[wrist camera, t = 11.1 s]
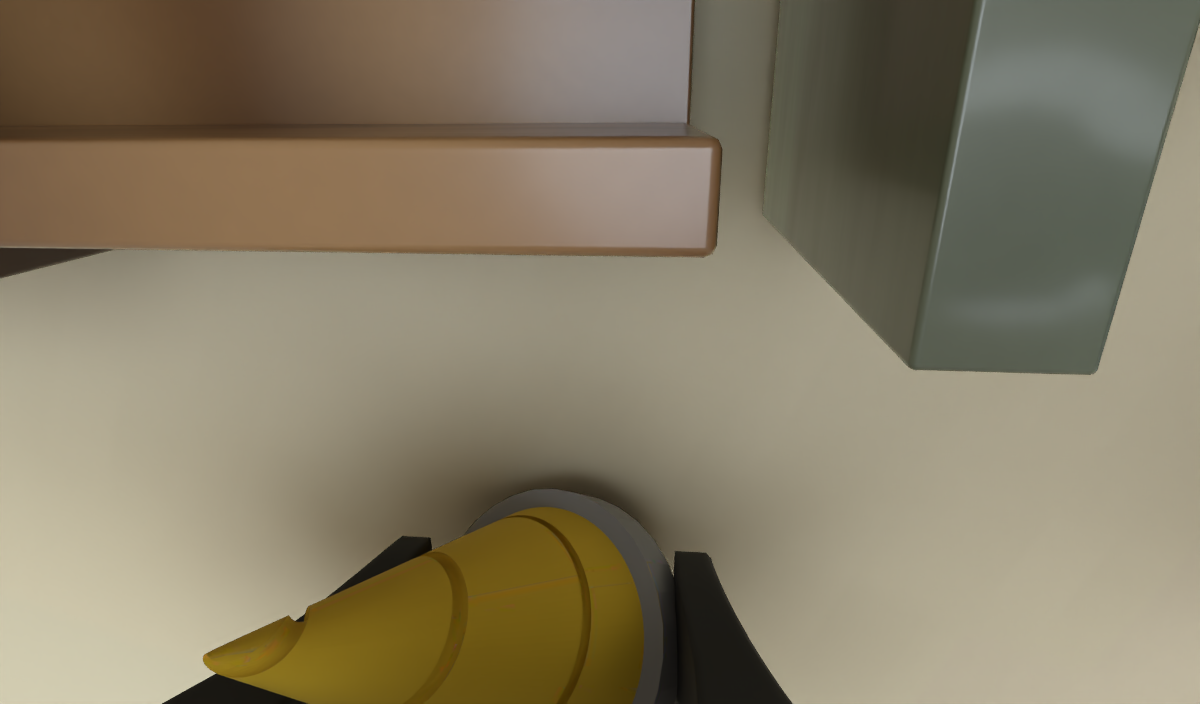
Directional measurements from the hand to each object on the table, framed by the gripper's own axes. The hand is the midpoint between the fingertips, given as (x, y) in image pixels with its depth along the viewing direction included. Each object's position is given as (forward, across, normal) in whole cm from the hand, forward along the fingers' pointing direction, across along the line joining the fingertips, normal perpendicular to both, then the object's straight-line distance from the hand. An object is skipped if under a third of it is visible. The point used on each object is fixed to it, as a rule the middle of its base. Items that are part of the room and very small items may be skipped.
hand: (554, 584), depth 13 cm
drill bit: (+2, +1, 0) cm, 2 cm away
